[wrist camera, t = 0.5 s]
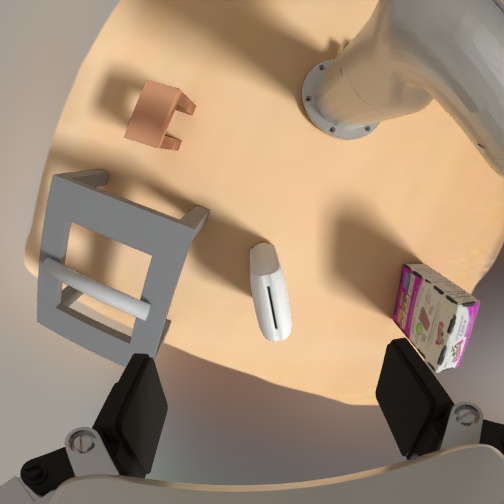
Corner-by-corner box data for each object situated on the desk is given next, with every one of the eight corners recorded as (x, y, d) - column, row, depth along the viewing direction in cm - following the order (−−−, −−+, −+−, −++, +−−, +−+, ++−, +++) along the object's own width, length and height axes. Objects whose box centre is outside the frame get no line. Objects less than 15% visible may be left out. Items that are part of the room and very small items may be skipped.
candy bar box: (413, 317, 48) (458, 368, 33) (391, 320, 48) (433, 375, 33) (425, 261, 45) (482, 301, 29) (402, 262, 45) (457, 305, 29)
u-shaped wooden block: (171, 98, 37) (146, 79, 27) (196, 105, 38) (178, 88, 27) (153, 142, 39) (123, 137, 29) (178, 150, 40) (154, 147, 29)
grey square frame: (99, 169, 40) (43, 176, 26) (209, 210, 42) (190, 234, 28) (74, 288, 46) (30, 328, 32) (168, 330, 48) (144, 385, 34)
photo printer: (286, 300, 47) (297, 345, 35) (259, 305, 47) (262, 351, 35) (275, 239, 44) (285, 268, 32) (246, 244, 44) (245, 276, 32)
